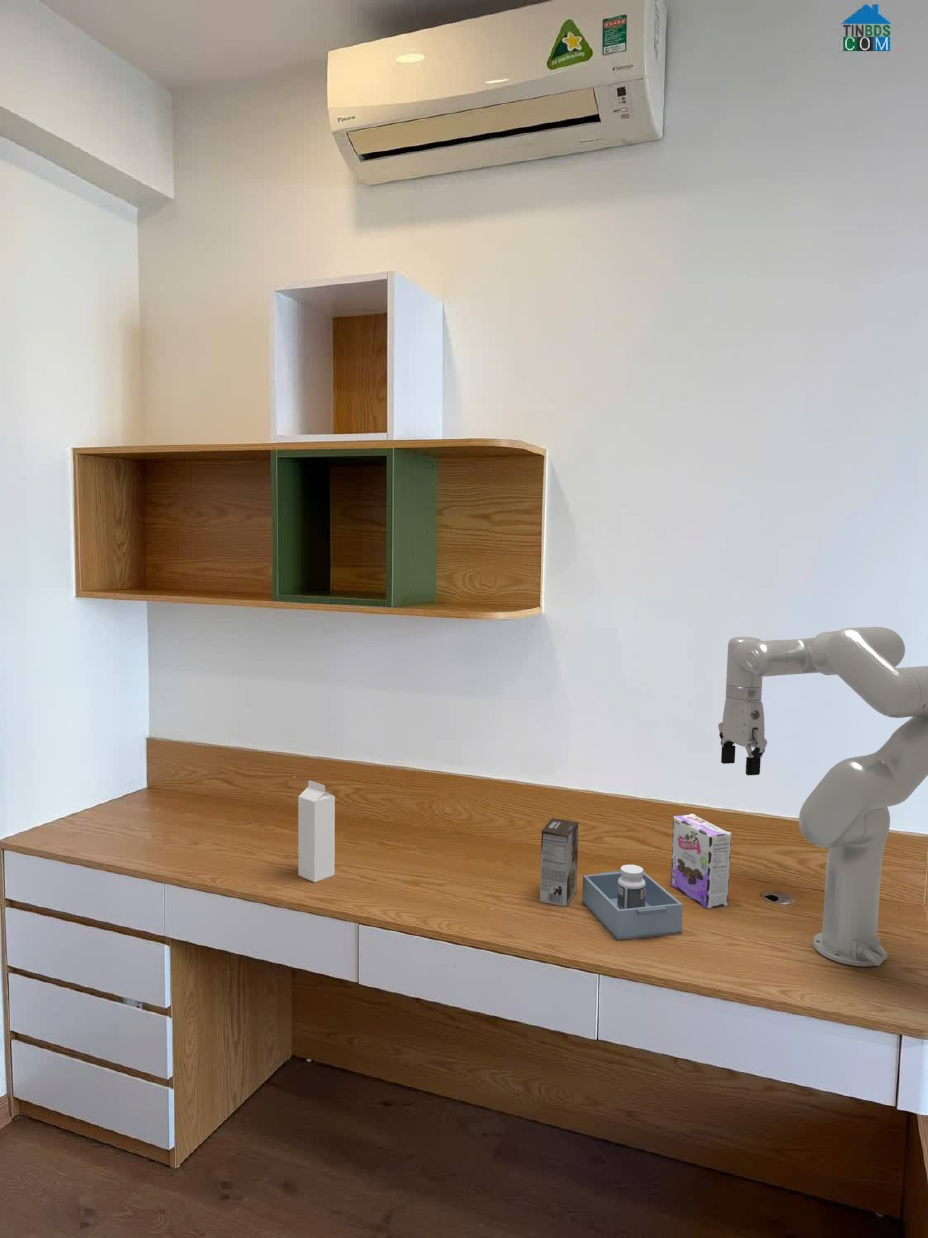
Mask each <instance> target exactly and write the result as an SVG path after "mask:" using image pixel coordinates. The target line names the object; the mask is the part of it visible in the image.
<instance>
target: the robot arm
mask: <svg viewBox="0 0 928 1238" xmlns="http://www.w3.org/2000/svg"><path fill="white" fill-rule="evenodd" d="M905 654H906V647H905V643H904V640H903V638H902V637H901V636H900V635H899V634H898V633H897V632H896V631H894V630H893V629H890V628H887V627H882V626H864V627H859V626H858V627H847V628H843V629H839V630H833V631H823V632H820V633H819V634H816V636H814V637H808V638H797V639H773V640H762V639H760V638H757V637H750V636H735V637H732V638H730V640H729V641H728V644H727V658H726V659H727V660H726V663H727V664H726V665H727V666H726V681H725V683H726V684H725V685H726V686H725V700H724V701H725V702H724V706H723V715H722V721H721V722H719V723H718V726H717V727H718V731H719V735H718V736H719V738H720V746H721V756H720V757H721V758H720V763H721V764H723V765H725V764H734V763H735V762H736V745H738V746H741V747H744V748H745V749H746V753H747V756H746V759H745V774H746V776H759V775H760V773H761V759H762V757H763V754H764V753H765V751H766V747H767V745H768V740H767V739H766V738H765V712H764V705H763V701H762V693H763V692H762V691H763V677H774V676H786V675H787V676H788V675H789V676H791V675H801V674H802V675H805V674H815V673H816V674H818V673H819V674H822V675H824V676H834V675H835V676H836V675H837V676H838V677H839V678H841V680H842V681H843V682H844V683H846V685H847V686H849V687H850V688H851V690H853V691H854V692H855V693H856V694H857V695H858V696H859V697H860V698H861V699H862V700H864V701H865V702H866V704H867V705H869V706H870V707H871V708H872V709H873V710H874V711H876V712H878V713H879V714H881V715H883V716H884V717H885V716H886V717H887V718H888V717H889V718H893V719H901V718H903V719H904V718H909V717H911V718H910V719H908V720H907V721H906V722H904V723H903V724H902V725H900V726H899V727H898V728H897V729H896V730H895V731H894V732H892V734H891V735H890V736H889V738H888V740H887V741H886V742H885V743H884V744H883V745H881V747H880V748H879V749H878V750H877V751H875V752H873V753H870V754H866V755H860V756H854V757H853V756H852V757H849V758H845V759H842V760H841V761H839V762H838V763H836V764H835V765H833V767H831V768H830V769H829V770H828V772H826V774H825V775H824V776H823V778H822V779H821V780H820V782H819V783H818V784H817V785H816V786H815V788H814V789H813V790H812V791H811V793H810V794H809V796H807V798H806V799H805V800H804V802H803V804H802V805H801V808H800V812H799V815H798V824H799V829H800V831H801V834H802V836H803V837H804V839H805V840H807V842H809V843H810V844H812V845H813V846H815V847H817V848H822V849H828V853H827V857H826V865H825V881H824V882H825V883H824V900H823V915H822V916H823V917H822V932H819V933H817V934H815V935H814V936H813V939H812V940H813V944H812V945H813V947H814V949H815V950H816V951H817V952H818V953H819V954H820V955H822V956H824V958H825V957H826V958H827V959H830V960H832V961H834V962H836V963H839V964H843V965H847V966H848V965H849V966H854V967H864V968H865V967H874V966H877V967H878V966H881V964H883V962H884V961H885V960H887V959H888V958H889V954H888V953H887V952H886V951H885V950H884V948H883V946H881V938H880V937H878V924H879V923H878V921H879V908H880V894H881V893H880V891H881V877H882V866H883V864H882V863H883V857H884V850H885V847H886V842H887V839H888V835H889V832H890V828H891V827H890V826H891V815H890V811H889V807H893V806H896V805H899V804H901V803H904V802H905V801H906V800H908V798H909V797H910V796H911V795H912V794H913V793H914V791H915V790H916V789H917V788H918V787H919V786H920V785H921V784H922V782H923V781H925V779H926V778H927V777H928V665H923V666H922V665H920V666H909V667H908V666H907V667H897V666H898V665H899V664H900V663H901V662H902V660H903V659H904V657H905ZM752 748H753V749H752Z"/></svg>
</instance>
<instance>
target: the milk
mask: <svg viewBox="0 0 928 1238" xmlns="http://www.w3.org/2000/svg"><path fill="white" fill-rule="evenodd" d="M307 783H308V784H307V785H308V786H307V787H306V788H305V790H303V791H302V792H301V793H300V794H299V795H298V798H297V799H298V801H297V803H298V804H297V805H298V807H297V808H298V809H297V811H298V814H297V815H298V819H297V821H298V823H297V825H298V827H297V830H298V834H297V835H298V837H297V838H298V843H297V844H298V845H297V847H298V849H297V851H298V852H297V853H298V855H297V857H298V860H297V861H298V865H297V866H298V869H297V870H298V874H297V875H298V876H300V877H301V878H303V879H306V880H308V881H310V882H313V883H316V882H320V881H322V880H325V879H329V878H330V877H333V876H335V865H336V864H335V862H336V861H335V859H336V858H335V856H336V855H335V854H336V852H335V847H336V846H335V845H336V842H335V837H336V836H335V832H336V831H335V830H336V829H335V828H336V827H335V824H336V823H335V821H336V817H335V813H336V812H335V811H336V804H335V802H336V796H335V795H334V794H332V793H329V792H326V785H324V784H322V783H318V782H315V781H312V780H308V782H307Z"/></svg>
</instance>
